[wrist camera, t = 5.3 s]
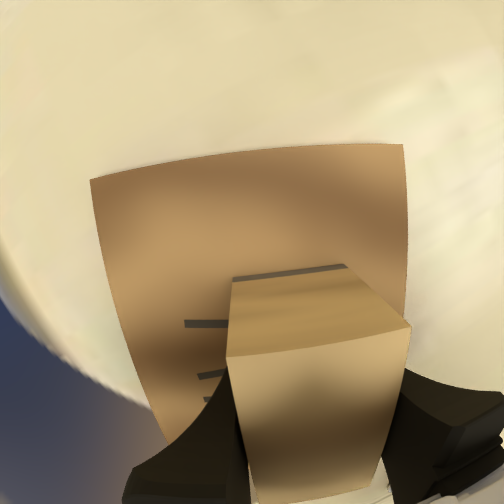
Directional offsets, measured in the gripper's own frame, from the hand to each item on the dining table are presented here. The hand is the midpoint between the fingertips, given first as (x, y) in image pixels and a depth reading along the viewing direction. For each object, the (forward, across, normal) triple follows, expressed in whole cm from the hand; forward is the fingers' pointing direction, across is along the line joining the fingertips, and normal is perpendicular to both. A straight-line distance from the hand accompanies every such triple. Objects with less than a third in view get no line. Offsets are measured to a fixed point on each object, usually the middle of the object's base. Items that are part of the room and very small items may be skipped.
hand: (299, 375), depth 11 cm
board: (+2, +1, 0) cm, 3 cm away
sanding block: (+1, 0, 0) cm, 1 cm away
